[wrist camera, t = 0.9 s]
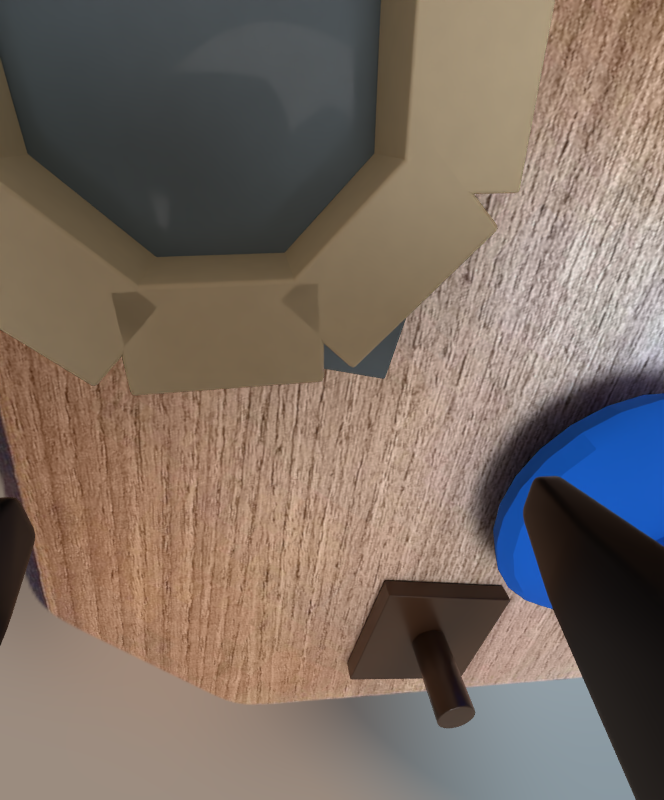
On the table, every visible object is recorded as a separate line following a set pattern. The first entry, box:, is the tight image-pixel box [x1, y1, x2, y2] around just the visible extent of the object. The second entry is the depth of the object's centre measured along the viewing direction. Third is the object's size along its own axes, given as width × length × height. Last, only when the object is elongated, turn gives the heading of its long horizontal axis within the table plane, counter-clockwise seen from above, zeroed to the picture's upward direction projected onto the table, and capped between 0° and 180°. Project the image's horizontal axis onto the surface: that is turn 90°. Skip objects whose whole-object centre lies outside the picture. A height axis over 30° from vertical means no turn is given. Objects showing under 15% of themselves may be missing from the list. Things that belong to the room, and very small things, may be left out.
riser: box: [0, 0, 406, 379], centre depth 12 cm, size 10×10×10 cm
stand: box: [348, 581, 510, 728], centre depth 31 cm, size 9×9×6 cm
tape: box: [0, 0, 555, 395], centre depth 7 cm, size 10×10×2 cm
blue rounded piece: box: [493, 393, 664, 609], centre depth 26 cm, size 16×16×7 cm
